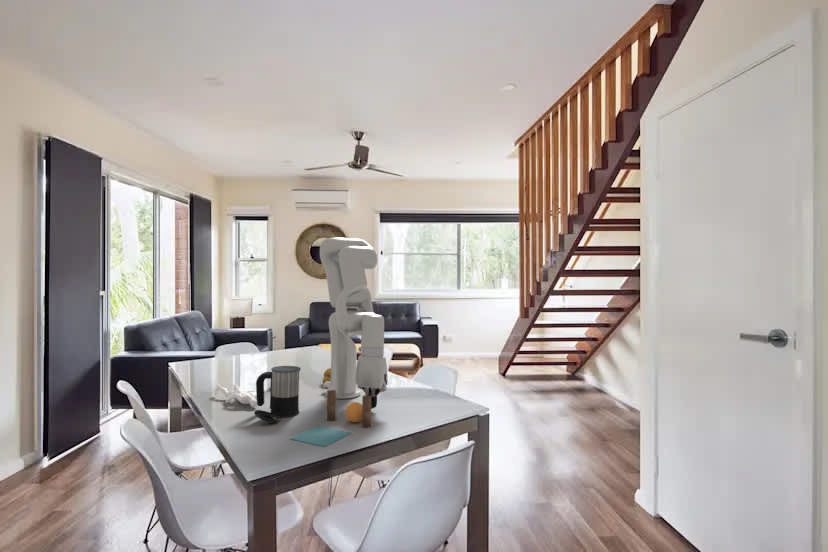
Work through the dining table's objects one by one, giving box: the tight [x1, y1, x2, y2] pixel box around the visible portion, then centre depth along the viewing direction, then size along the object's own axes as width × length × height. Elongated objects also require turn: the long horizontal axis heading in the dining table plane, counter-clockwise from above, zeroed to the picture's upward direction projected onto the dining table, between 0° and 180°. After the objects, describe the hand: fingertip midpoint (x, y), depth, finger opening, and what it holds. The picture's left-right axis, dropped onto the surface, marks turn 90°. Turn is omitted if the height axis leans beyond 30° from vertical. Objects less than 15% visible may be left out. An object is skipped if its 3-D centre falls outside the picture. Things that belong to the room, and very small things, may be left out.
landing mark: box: [289, 425, 352, 448], centre depth 129 cm, size 12×12×1 cm
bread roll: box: [322, 367, 331, 384], centre depth 191 cm, size 13×10×8 cm
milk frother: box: [253, 365, 301, 425], centre depth 145 cm, size 14×16×15 cm
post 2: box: [361, 394, 372, 429], centre depth 137 cm, size 3×3×9 cm
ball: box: [344, 401, 362, 423], centre depth 142 cm, size 6×6×6 cm
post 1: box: [326, 390, 337, 422], centre depth 144 cm, size 3×3×9 cm
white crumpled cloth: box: [213, 383, 258, 409], centre depth 163 cm, size 12×6×25 cm
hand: (371, 407), depth 152 cm, fingers closed
